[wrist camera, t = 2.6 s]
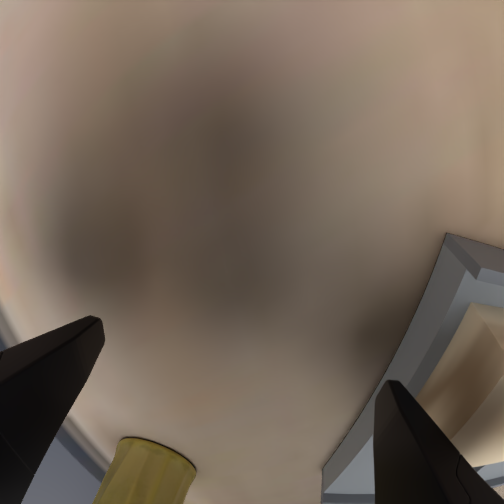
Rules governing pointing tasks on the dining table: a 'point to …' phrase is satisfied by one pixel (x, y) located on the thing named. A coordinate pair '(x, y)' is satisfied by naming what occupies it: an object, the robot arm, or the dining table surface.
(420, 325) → the box
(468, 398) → the beech block
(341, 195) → the dining table surface
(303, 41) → the dining table surface
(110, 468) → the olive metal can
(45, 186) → the dining table surface
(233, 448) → the dining table surface
